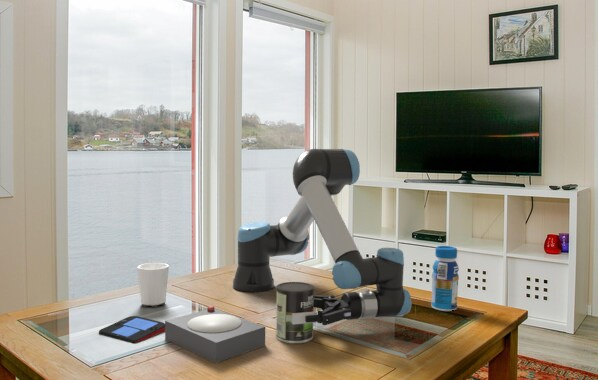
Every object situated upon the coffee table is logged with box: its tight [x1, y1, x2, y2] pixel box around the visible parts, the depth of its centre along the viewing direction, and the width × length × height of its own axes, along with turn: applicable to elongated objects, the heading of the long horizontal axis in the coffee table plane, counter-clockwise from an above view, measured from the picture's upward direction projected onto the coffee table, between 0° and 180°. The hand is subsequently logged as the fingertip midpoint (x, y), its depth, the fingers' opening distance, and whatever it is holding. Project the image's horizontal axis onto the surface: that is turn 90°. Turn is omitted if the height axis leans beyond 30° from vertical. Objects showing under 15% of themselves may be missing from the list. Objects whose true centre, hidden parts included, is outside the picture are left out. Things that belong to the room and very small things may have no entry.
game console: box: [98, 315, 165, 344], centre depth 145 cm, size 14×13×2 cm
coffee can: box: [275, 281, 315, 345], centre depth 142 cm, size 10×10×14 cm
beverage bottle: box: [430, 245, 460, 312], centre depth 170 cm, size 8×8×20 cm
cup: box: [136, 262, 170, 308], centre depth 169 cm, size 10×10×13 cm
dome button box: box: [164, 305, 266, 364], centre depth 138 cm, size 22×16×6 cm
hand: (285, 310), depth 142 cm, fingers open, 13 cm apart
